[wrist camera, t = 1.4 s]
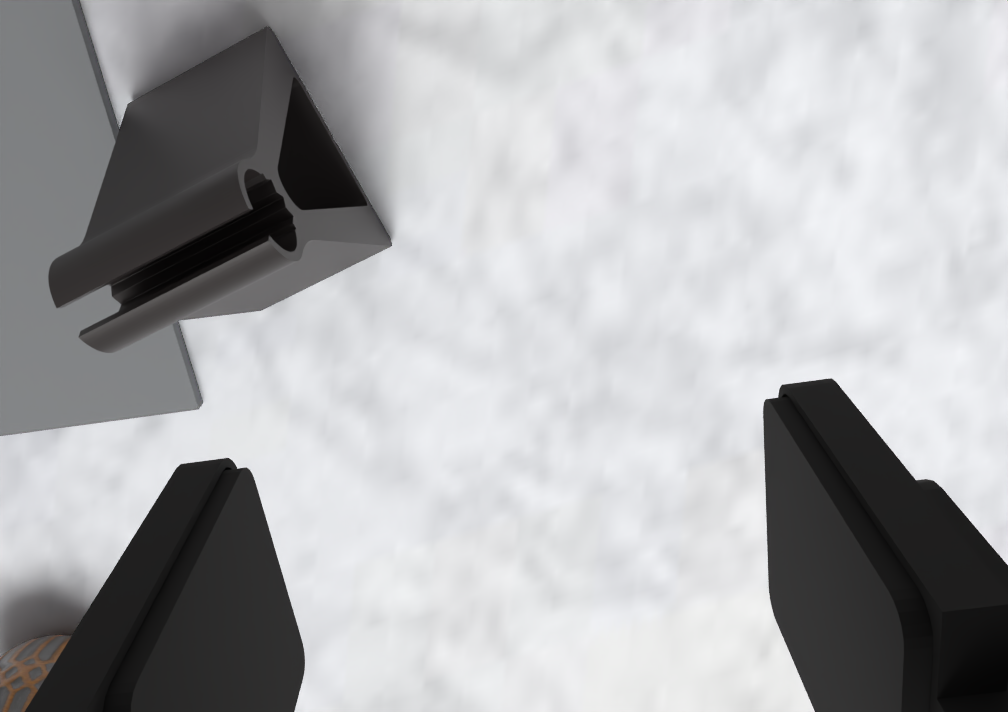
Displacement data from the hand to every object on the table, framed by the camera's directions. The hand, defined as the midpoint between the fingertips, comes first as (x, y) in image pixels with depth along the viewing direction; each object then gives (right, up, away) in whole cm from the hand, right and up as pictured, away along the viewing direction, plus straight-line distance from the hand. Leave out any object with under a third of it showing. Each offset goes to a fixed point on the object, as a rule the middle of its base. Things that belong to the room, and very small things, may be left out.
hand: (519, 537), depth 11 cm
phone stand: (-9, +9, +24) cm, 27 cm away
